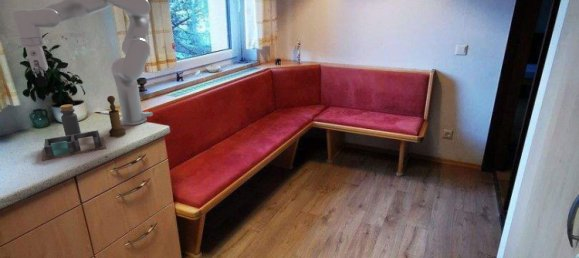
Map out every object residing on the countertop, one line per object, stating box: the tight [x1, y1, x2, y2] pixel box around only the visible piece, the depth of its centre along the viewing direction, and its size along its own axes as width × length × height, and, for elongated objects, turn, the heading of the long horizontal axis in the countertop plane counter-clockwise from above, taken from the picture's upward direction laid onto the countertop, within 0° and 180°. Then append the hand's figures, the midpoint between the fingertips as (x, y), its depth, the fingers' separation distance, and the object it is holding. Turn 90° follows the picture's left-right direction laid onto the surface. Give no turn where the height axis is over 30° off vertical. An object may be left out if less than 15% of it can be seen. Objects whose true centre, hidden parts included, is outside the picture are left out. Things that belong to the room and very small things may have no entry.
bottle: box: [59, 104, 82, 136], centre depth 150 cm, size 6×6×15 cm
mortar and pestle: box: [106, 95, 127, 138], centre depth 153 cm, size 7×6×18 cm
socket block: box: [41, 130, 107, 162], centre depth 140 cm, size 22×14×6 cm, turn 122°
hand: (43, 84), depth 144 cm, fingers open, 9 cm apart
